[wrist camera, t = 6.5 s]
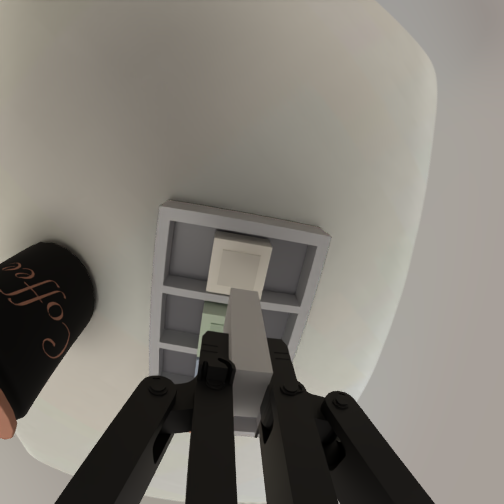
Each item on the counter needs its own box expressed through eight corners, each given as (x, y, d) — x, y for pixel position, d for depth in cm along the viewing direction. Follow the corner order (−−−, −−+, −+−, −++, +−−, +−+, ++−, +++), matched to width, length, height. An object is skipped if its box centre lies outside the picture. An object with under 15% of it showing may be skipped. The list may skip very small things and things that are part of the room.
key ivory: (216, 230, 25) (214, 238, 22) (268, 239, 25) (272, 248, 23) (208, 279, 26) (205, 291, 24) (258, 287, 27) (260, 300, 24)
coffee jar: (116, 311, 28) (38, 443, 11) (55, 335, 29) (-17, 437, 12) (68, 221, 25) (-66, 298, 8) (12, 260, 25) (-90, 334, 8)
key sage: (204, 299, 25) (202, 314, 23) (256, 307, 26) (258, 322, 23) (198, 341, 27) (196, 357, 24) (246, 348, 27) (247, 364, 25)
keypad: (168, 199, 25) (159, 205, 22) (320, 227, 27) (331, 236, 23) (155, 404, 33) (151, 423, 29) (261, 418, 34) (263, 437, 31)
